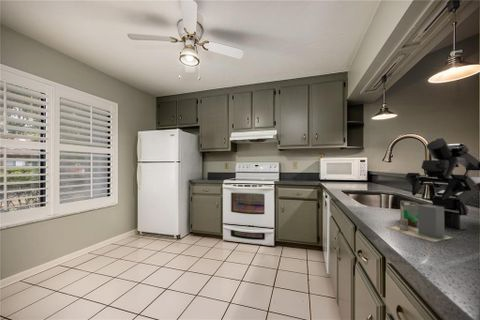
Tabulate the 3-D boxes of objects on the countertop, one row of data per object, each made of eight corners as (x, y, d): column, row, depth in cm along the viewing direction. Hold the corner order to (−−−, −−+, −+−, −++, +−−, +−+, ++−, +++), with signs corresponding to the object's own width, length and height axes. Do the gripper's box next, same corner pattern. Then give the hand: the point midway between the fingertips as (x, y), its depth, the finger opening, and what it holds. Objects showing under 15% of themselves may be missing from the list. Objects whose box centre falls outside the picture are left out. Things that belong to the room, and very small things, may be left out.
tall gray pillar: (426, 231, 74) (426, 204, 74) (444, 236, 69) (444, 207, 70) (418, 233, 72) (418, 205, 72) (436, 237, 68) (435, 208, 68)
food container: (424, 233, 77) (424, 207, 77) (403, 230, 80) (403, 205, 80) (418, 224, 87) (418, 201, 87) (400, 222, 90) (400, 200, 91)
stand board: (404, 227, 82) (404, 215, 82) (453, 240, 68) (453, 225, 68) (385, 230, 79) (385, 217, 79) (433, 244, 64) (433, 229, 65)
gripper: (407, 154, 87) (391, 180, 83) (468, 151, 70) (450, 184, 66) (419, 171, 90) (403, 198, 86) (480, 174, 73) (464, 207, 69)
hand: (426, 196), depth 77 cm, fingers open, 9 cm apart
